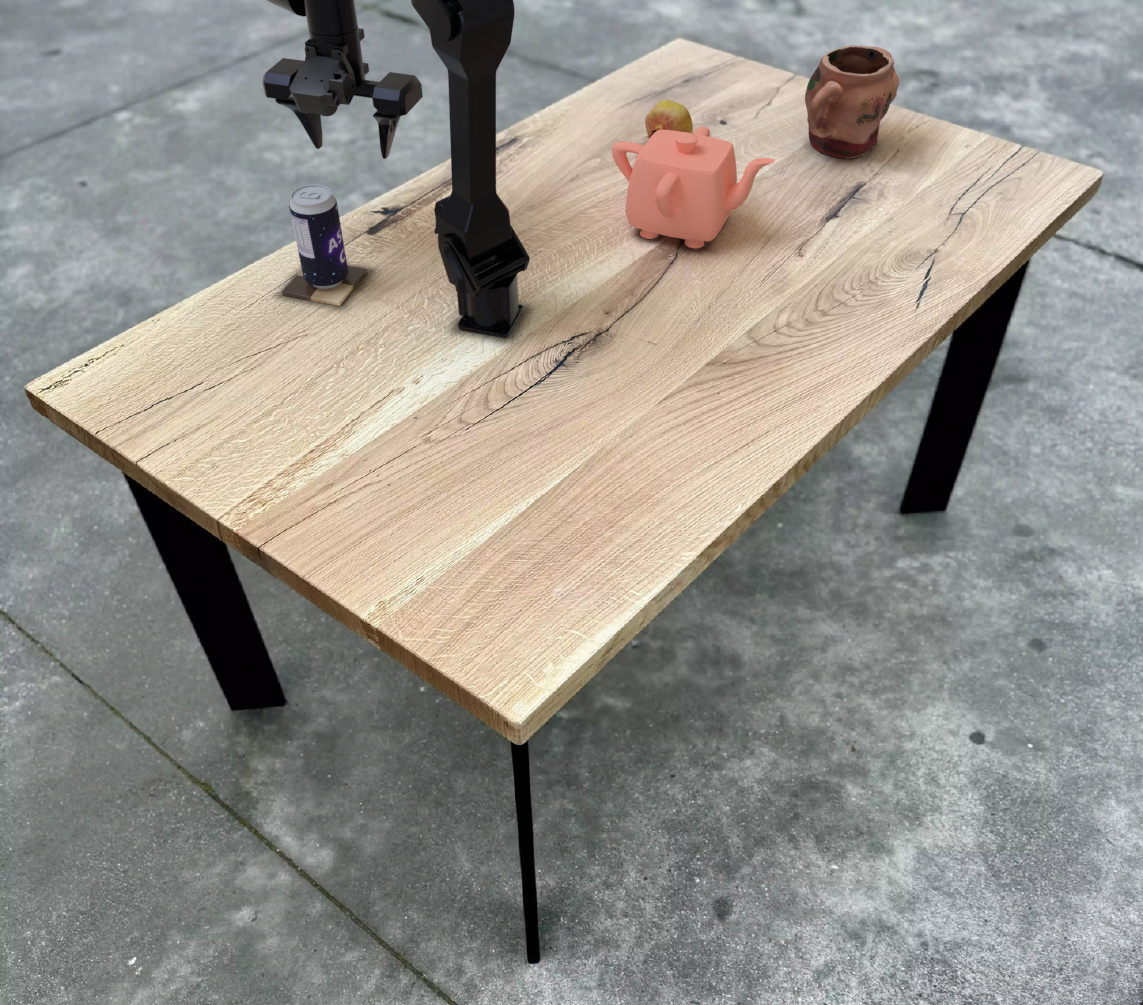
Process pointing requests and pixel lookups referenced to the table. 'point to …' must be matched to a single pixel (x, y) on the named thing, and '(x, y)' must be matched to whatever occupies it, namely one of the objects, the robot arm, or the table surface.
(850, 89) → the decorative planter
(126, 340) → the table surface
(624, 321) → the table surface
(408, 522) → the table surface
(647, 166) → the teapot
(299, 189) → the beverage can
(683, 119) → the fruit
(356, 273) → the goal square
